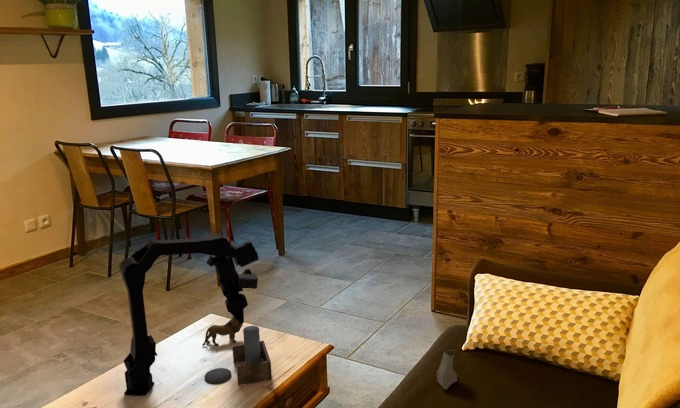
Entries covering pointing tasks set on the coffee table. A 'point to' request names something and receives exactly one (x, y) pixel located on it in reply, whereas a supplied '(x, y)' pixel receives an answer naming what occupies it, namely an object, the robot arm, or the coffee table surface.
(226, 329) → the lion figurine
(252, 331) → the grey post
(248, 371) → the crate
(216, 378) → the coaster
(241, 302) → the robot arm
